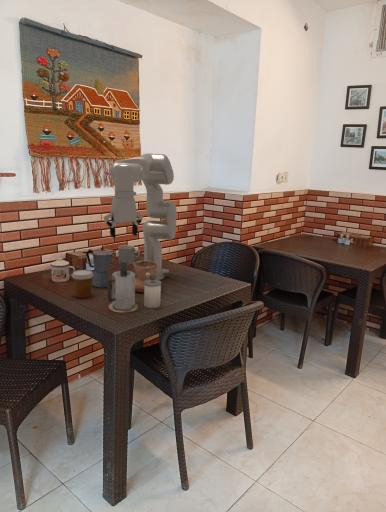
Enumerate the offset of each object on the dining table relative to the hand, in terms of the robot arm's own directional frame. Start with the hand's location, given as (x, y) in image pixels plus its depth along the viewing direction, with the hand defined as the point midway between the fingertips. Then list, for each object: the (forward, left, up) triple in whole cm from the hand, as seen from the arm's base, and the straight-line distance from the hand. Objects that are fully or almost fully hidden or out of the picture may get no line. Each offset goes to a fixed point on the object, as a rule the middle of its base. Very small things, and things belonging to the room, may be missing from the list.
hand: (123, 236), depth 166 cm
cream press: (-12, +4, -32) cm, 35 cm away
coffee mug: (-33, -67, -33) cm, 81 cm away
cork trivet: (0, 0, -32) cm, 32 cm away
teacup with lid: (+12, -50, -33) cm, 61 cm away
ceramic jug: (-19, -17, -33) cm, 41 cm away
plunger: (0, 0, -29) cm, 29 cm away
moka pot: (-2, -34, -33) cm, 47 cm away
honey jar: (+11, -21, -33) cm, 40 cm away
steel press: (+1, 0, -32) cm, 32 cm away
